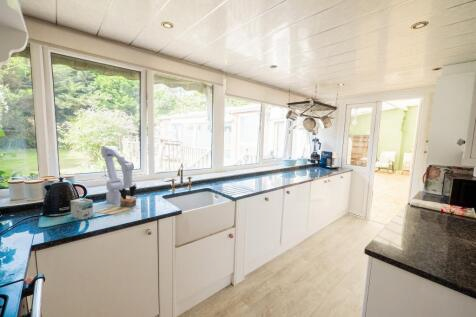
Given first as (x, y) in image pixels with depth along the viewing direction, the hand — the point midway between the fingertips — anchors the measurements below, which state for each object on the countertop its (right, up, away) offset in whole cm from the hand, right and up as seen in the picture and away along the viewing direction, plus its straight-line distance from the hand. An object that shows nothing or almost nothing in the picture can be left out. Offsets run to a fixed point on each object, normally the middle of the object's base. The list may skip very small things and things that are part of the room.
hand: (128, 197), depth 147 cm
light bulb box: (-17, -8, -21) cm, 29 cm away
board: (-4, -7, -10) cm, 13 cm away
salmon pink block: (0, -3, 0) cm, 3 cm away
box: (0, -7, +1) cm, 7 cm away
